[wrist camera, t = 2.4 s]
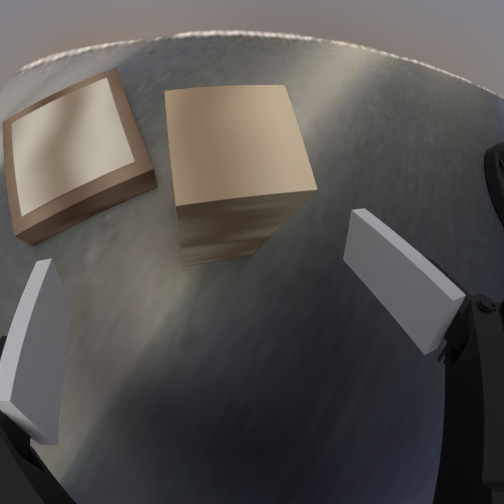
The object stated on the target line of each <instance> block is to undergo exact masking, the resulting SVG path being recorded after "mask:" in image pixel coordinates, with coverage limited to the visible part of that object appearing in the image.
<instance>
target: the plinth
mask: <svg viewBox="0 0 504 504" xmlns="http://www.w3.org/2000/svg"><path fill="white" fill-rule="evenodd" d="M3 147H4V163H5V175H6V184H7V192H8V200H9V207H10V213H11V219H12V224H13V230H14V235H15V237H17V238H19V239H21V240H23V241H25V242H27V243H28V244H30V245H32V246H34V245H36V244H38V243H39V242H41V241H43V240H45V239H47V238H49V237H51V236H53V235H55V234H57V233H58V232H60V231H62V230H64V229H66V228H68V227H70V226H72V225H74V224H76V223H78V222H80V221H82V220H85V219H87V218H89V217H91V216H93V215H95V214H97V213H99V212H101V211H104V210H106V209H108V208H110V207H112V206H115V205H117V204H119V203H121V202H123V201H126V200H128V199H130V198H133V197H135V196H137V195H140V194H142V193H144V192H147V191H149V190H151V189H154V188H156V187H157V182H156V178H155V173H154V168H153V166H152V163H151V161H150V158H149V156H148V153H147V151H146V148H145V146H144V143H143V140H142V138H141V135H140V133H139V130H138V127H137V125H136V122H135V119H134V117H133V114H132V111H131V108H130V106H129V103H128V100H127V97H126V94H125V92H124V89H123V86H122V83H121V80H120V77H119V74H118V71H117V68H114V69H111V70H109V71H106V72H103V73H101V74H98V75H96V76H93V77H91V78H88V79H86V80H83V81H81V82H79V83H76V84H74V85H72V86H70V87H67V88H65V89H63V90H61V91H59V92H57V93H55V94H53V95H51V96H49V97H47V98H45V99H43V100H41V101H39V102H37V103H35V104H33V105H31V106H30V107H28V108H26V109H24V110H22V111H21V112H19V113H17V114H15V115H14V116H12V117H10V118H9V119H7V120H5V121H4V122H3Z"/></svg>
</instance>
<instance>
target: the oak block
mask: <svg viewBox="0 0 504 504" xmlns="http://www.w3.org/2000/svg"><path fill="white" fill-rule="evenodd" d="M165 106H166V123H167V137H168V150H169V161H170V172H171V182H172V192H173V201H174V209H175V217H176V224H177V231H178V238H179V245H180V251H181V258H182V264H183V266H188V265H194V264H200V263H206V262H213V261H219V260H225V259H231V258H238V257H244V256H250V255H253V254H254V253H255V252H256V251H257V250H258V249H259V248H260V247H261V246H262V245H263V244H264V243H265V242H266V241H267V240H268V239H269V238H270V237H271V236H272V235H273V234H274V233H275V232H276V231H277V230H278V229H279V228H280V227H281V226H282V225H283V224H284V223H285V222H286V221H287V220H288V219H289V218H290V217H291V216H292V215H293V214H294V213H295V212H296V211H297V210H298V209H299V208H300V207H301V206H302V205H303V204H304V203H305V202H306V201H307V200H308V199H309V198H310V197H311V196H312V195H313V194H314V193H315V192H316V191H317V187H316V183H315V180H314V176H313V173H312V169H311V166H310V162H309V159H308V156H307V152H306V149H305V146H304V143H303V139H302V136H301V133H300V130H299V127H298V124H297V120H296V117H295V114H294V111H293V108H292V105H291V102H290V100H289V97H288V94H287V91H286V88H285V85H237V86H214V87H200V88H188V89H177V90H168V91H165Z"/></svg>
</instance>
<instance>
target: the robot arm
mask: <svg viewBox="0 0 504 504" xmlns="http://www.w3.org/2000/svg"><path fill="white" fill-rule="evenodd" d="M485 172H486V178H487V183H488V187H489V190H490V194H491V197H492V200H493V203H494V205H495V208H496V210H497V212H498V215H499V217H500V219H501V221H502V223H503V225H504V142H500V143H498V144H496V145H495V146H493V147H492V148H490V149H489V150H488V151H487V153H486V156H485ZM343 260H344V261H345V262H346V263H347V264H348V266H349V267H350V268H351V269H352V270H353V271H354V272H355V273H356V274H357V276H358V277H359V278H360V279H361V280H362V281H363V282H364V283H365V285H366V286H367V287H368V288H369V289H370V290H371V291H372V293H373V294H374V295H375V296H376V297H377V298H378V300H379V301H380V302H381V303H382V304H383V305H384V307H385V308H386V309H387V310H388V311H389V312H390V314H391V315H392V316H393V317H394V318H395V320H396V321H397V322H398V323H399V324H400V326H401V327H402V328H403V329H404V330H405V332H406V333H407V334H408V335H409V336H410V338H411V339H412V340H413V341H414V343H415V344H416V345H417V346H418V348H419V349H420V350H421V351H422V353H423V354H424V355H426V354H428V353H430V352H432V351H433V350H435V349H437V348H438V347H439V345H440V343H441V341H442V340H443V338H445V339H446V341H447V344H446V346H445V347H444V349H443V351H442V352H441V354H440V356H439V357H438V361H437V362H440V361H441V359H442V358H443V356H445V360H444V361H443V363H445V411H444V427H443V438H442V448H441V457H440V464H439V471H438V477H437V483H436V489H435V494H434V499H433V503H432V504H504V300H503V302H501V303H494V302H493V301H492V300H491V299H489V298H488V297H486V296H483V295H474V296H471V295H470V294H469V293H468V292H467V291H466V290H465V289H464V288H463V287H462V286H461V285H460V284H459V283H458V282H456V281H455V280H454V279H453V278H452V277H451V276H449V275H448V273H447V272H446V271H444V270H442V268H441V267H440V266H439V265H438V264H437V263H435V262H434V261H433V260H431V259H429V258H427V257H425V256H423V255H421V254H420V253H419V252H418V251H417V250H416V249H414V248H413V247H412V246H411V245H410V244H409V243H407V242H406V241H405V240H404V239H403V238H401V237H400V236H399V235H398V234H396V233H395V232H394V231H393V230H392V229H390V228H389V227H388V226H387V225H385V224H384V223H383V222H382V221H380V220H379V219H378V218H376V217H375V216H374V215H373V214H371V213H370V212H369V211H367V210H366V209H365V208H363V209H355V210H351V216H350V223H349V229H348V235H347V241H346V246H345V252H344V257H343ZM72 314H73V307H72V305H71V303H70V301H69V298H68V296H67V294H66V292H65V289H64V287H63V285H62V282H61V280H60V278H59V275H58V273H57V270H56V268H55V265H54V263H53V260H52V259H47V260H42V261H37V262H36V264H35V267H34V269H33V271H32V273H31V276H30V278H29V280H28V283H27V285H26V287H25V290H24V292H23V295H22V297H21V300H20V302H19V305H18V308H17V310H16V313H15V316H14V319H13V321H12V324H11V327H10V330H9V333H8V336H2V337H1V339H0V504H76V503H75V502H74V500H73V499H72V498H71V497H70V496H69V495H68V493H67V492H66V491H65V490H64V489H63V487H62V486H61V485H60V484H59V482H58V481H57V480H56V479H55V477H54V476H53V475H52V474H51V472H50V471H49V470H48V468H47V467H46V465H45V464H44V463H43V461H42V460H41V459H40V457H39V456H38V454H37V453H36V451H35V450H34V449H33V448H32V447H31V446H30V437H31V438H32V439H33V440H35V441H36V442H37V443H38V444H40V445H58V429H59V410H60V397H61V387H62V377H63V369H64V361H65V354H66V348H67V341H68V335H69V330H70V324H71V319H72Z"/></svg>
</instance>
